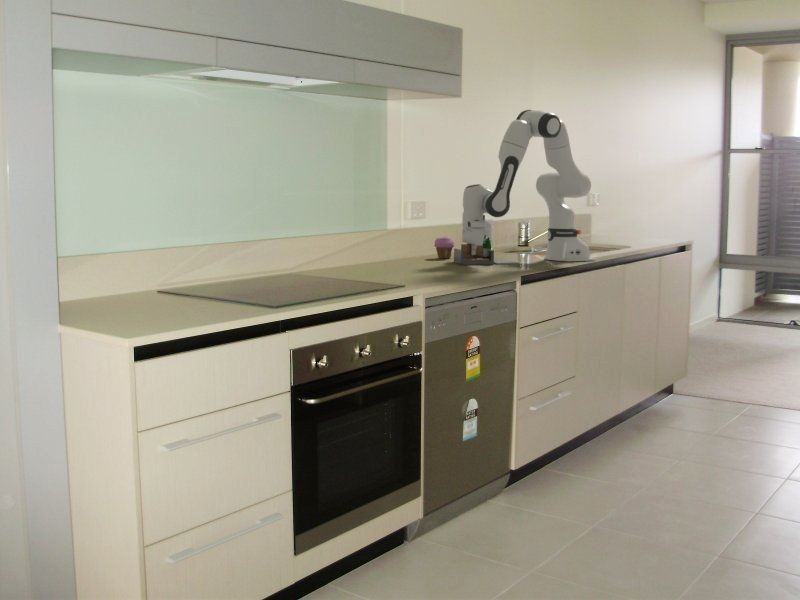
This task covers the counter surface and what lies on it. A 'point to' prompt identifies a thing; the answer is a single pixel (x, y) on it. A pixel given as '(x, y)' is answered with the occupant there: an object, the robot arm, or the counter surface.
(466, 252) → the brown flat block
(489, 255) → the rack
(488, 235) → the milk carton
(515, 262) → the grey mat
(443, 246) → the cupcake
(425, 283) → the counter surface
